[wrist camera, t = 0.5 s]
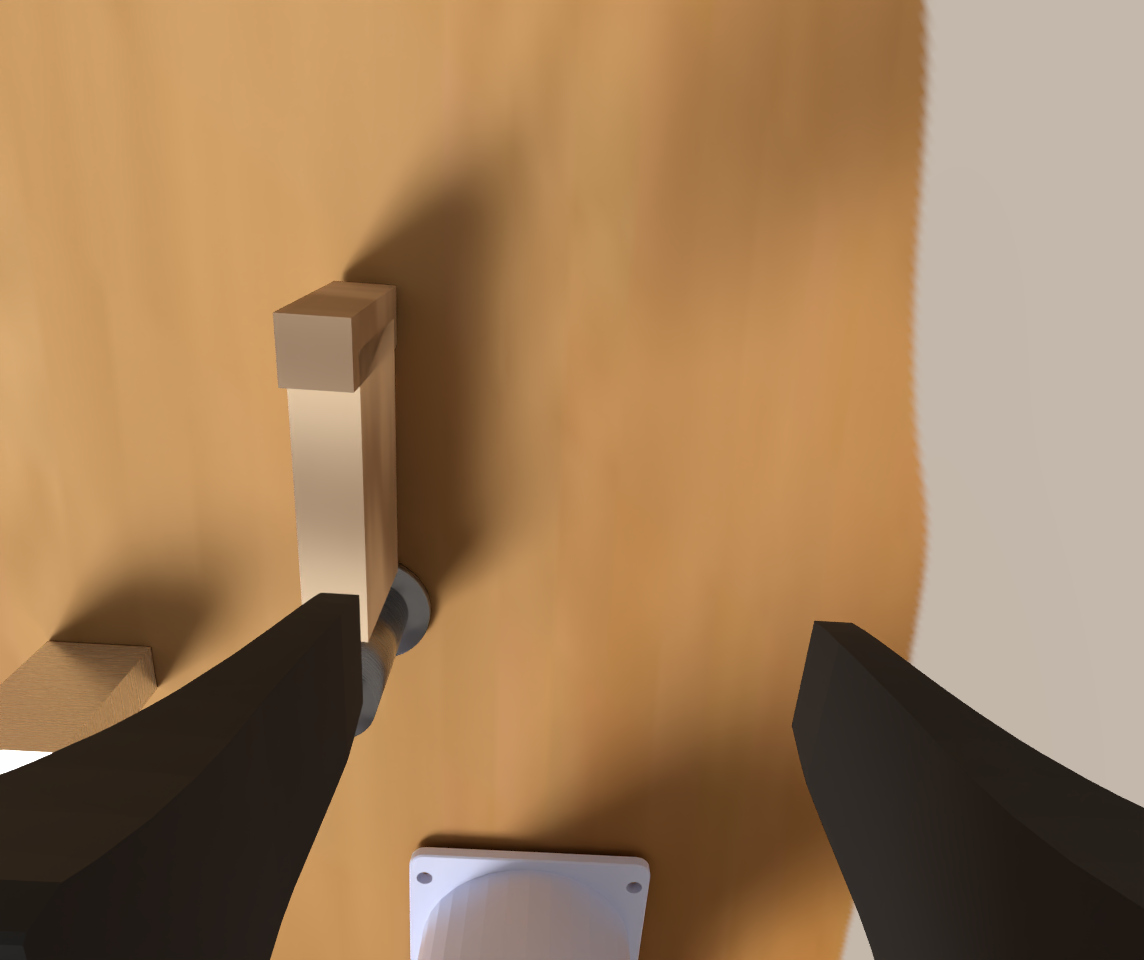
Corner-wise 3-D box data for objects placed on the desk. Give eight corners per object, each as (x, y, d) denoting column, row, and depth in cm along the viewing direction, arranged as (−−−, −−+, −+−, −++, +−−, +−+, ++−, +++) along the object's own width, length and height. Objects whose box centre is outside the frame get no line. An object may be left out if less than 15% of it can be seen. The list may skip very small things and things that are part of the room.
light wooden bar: (400, 565, 22) (363, 654, 18) (346, 562, 22) (297, 650, 18) (396, 285, 19) (351, 317, 15) (333, 280, 19) (272, 312, 15)
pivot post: (430, 655, 23) (401, 762, 19) (323, 649, 23) (270, 755, 19) (431, 560, 22) (400, 653, 18) (317, 554, 22) (260, 644, 18)
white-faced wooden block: (157, 688, 24) (70, 800, 20) (56, 683, 24) (-52, 794, 20) (150, 647, 23) (59, 753, 19) (47, 641, 23) (-67, 746, 19)
